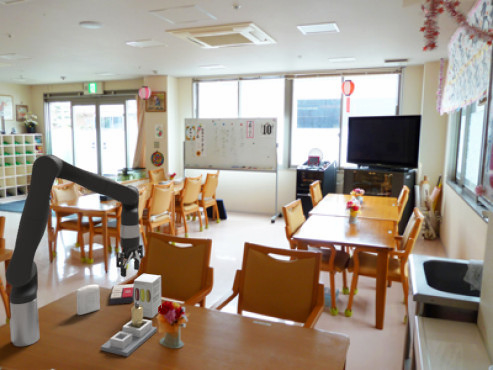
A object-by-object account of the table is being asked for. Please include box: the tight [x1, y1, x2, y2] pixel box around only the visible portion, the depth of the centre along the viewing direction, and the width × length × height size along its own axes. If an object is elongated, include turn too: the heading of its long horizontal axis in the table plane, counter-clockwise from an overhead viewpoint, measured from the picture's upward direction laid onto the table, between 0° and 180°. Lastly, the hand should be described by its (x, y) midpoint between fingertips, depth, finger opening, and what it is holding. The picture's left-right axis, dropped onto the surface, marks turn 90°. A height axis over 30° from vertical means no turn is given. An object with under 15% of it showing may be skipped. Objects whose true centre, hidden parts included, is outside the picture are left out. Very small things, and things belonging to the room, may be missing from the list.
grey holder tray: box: [100, 318, 158, 357], centre depth 155 cm, size 12×20×4 cm, turn 161°
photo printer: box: [76, 284, 101, 316], centre depth 178 cm, size 10×4×12 cm, turn 134°
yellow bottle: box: [131, 302, 144, 328], centre depth 159 cm, size 4×4×12 cm
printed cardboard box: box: [109, 283, 134, 305], centre depth 195 cm, size 11×4×15 cm
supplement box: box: [133, 273, 162, 319], centre depth 177 cm, size 10×9×17 cm
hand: (130, 273), depth 159 cm, fingers open, 8 cm apart
